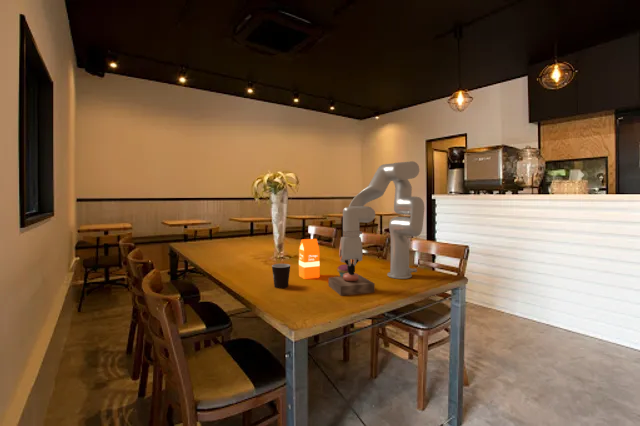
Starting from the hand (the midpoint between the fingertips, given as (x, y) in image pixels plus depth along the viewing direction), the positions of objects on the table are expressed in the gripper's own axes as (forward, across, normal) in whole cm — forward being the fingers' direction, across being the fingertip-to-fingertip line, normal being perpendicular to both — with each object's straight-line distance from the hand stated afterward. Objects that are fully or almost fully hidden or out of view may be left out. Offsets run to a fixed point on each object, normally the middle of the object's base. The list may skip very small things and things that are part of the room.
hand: (351, 273), depth 149 cm
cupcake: (+7, -5, -19) cm, 21 cm away
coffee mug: (+7, +29, -15) cm, 34 cm away
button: (+2, 0, 0) cm, 2 cm away
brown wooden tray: (+7, 0, 0) cm, 7 cm away
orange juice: (+7, +12, -28) cm, 31 cm away
